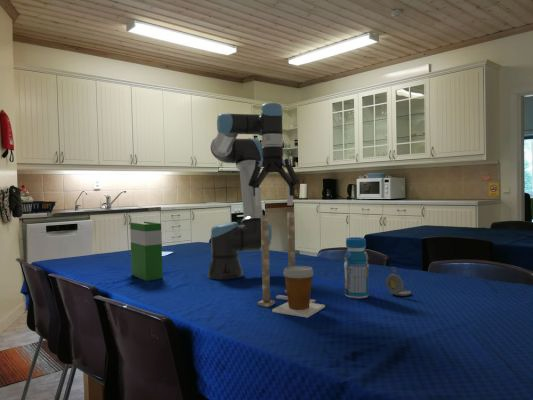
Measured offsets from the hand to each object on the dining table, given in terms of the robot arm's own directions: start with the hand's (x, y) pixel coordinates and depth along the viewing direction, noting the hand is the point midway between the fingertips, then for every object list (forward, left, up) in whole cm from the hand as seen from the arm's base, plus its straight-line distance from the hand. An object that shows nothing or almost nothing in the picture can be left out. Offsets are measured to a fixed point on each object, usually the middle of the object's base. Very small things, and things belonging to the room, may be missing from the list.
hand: (273, 205), depth 150 cm
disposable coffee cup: (+18, -16, -31) cm, 39 cm away
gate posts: (+6, -7, -32) cm, 33 cm away
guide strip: (+12, -7, -32) cm, 35 cm away
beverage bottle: (+28, +8, -32) cm, 43 cm away
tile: (+18, -16, -32) cm, 40 cm away
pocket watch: (+40, +16, -32) cm, 54 cm away
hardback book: (-66, -2, -32) cm, 73 cm away
